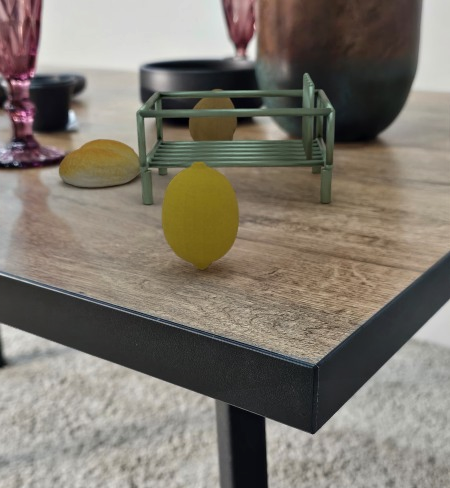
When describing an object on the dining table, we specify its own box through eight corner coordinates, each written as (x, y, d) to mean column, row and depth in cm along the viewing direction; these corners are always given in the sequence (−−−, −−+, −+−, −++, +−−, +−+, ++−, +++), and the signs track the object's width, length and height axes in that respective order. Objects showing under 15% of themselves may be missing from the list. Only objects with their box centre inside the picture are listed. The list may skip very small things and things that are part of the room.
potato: (197, 167, 85) (195, 95, 82) (179, 154, 92) (177, 87, 89) (254, 161, 87) (254, 91, 84) (233, 149, 94) (232, 84, 91)
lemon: (232, 254, 57) (230, 151, 54) (246, 279, 52) (245, 168, 49) (161, 259, 57) (155, 155, 53) (168, 286, 52) (162, 172, 48)
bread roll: (49, 188, 77) (44, 149, 76) (84, 168, 85) (80, 133, 84) (123, 191, 76) (120, 152, 74) (152, 171, 84) (149, 135, 82)
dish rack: (140, 205, 71) (133, 88, 66) (158, 172, 83) (153, 72, 79) (332, 204, 70) (337, 86, 66) (321, 171, 82) (324, 69, 78)
